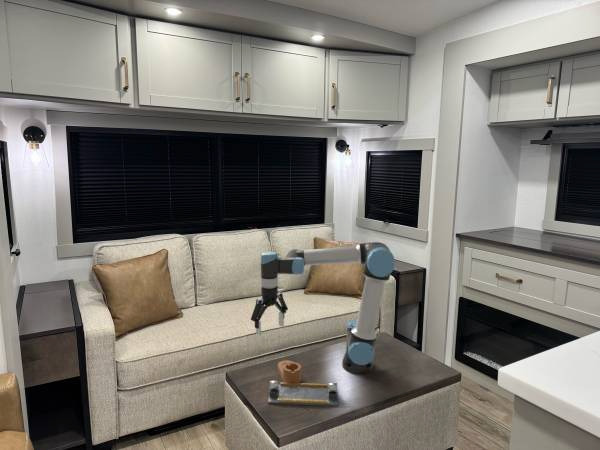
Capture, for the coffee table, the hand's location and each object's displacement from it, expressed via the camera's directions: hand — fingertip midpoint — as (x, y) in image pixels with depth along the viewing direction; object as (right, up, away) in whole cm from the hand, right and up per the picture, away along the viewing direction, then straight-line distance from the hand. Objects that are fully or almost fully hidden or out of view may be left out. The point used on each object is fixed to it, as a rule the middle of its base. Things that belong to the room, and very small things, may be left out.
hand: (270, 330), depth 189 cm
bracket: (+9, -23, +5) cm, 25 cm away
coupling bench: (+15, -26, -12) cm, 32 cm away
